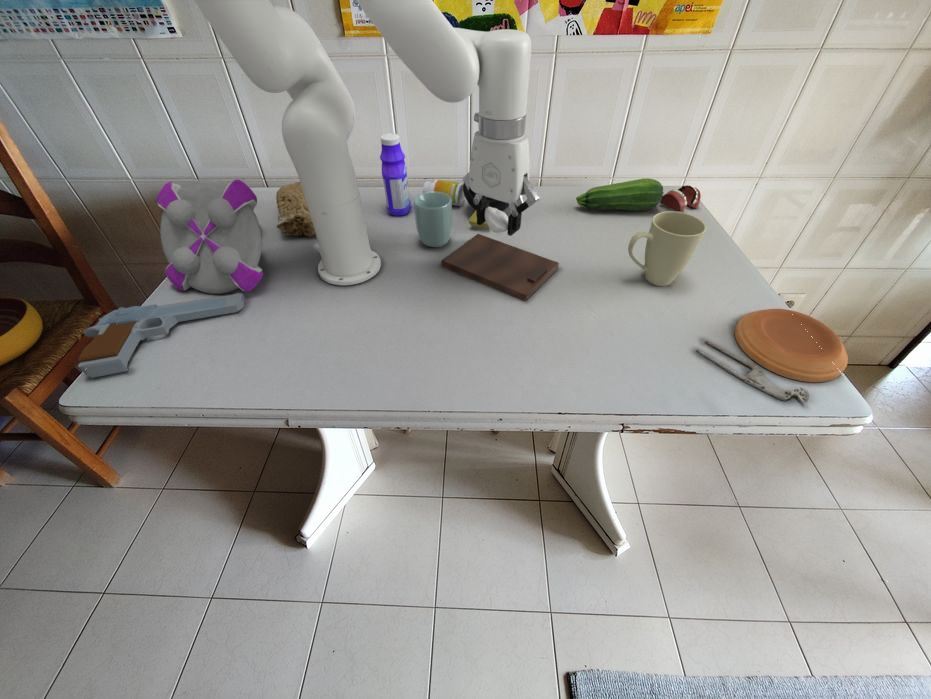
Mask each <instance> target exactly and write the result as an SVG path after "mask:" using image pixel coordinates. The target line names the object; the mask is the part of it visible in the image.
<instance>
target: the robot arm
mask: <svg viewBox="0 0 931 699" xmlns="http://www.w3.org/2000/svg"><path fill="white" fill-rule="evenodd" d="M193 1H194V3H195V4H196V5H197V7H198V9H199V10H200V12H201V14H202V15H203V16H204V18H205V20H206V21H207V22H208V23H209V25H210V26H211V28H212V29H213V31H214V32H215V34H216V35H217V36H218V37H219V39H220V40H221V42H222V43H223V45H224V46H225V48H226V49H227V50H228V52H229V53H230V55H231V56H232V58H233V59H234V60H235V62H236V63H237V65H238V66H239V67H240V69H241V70H242V72H243V73H244V74H245V76H246V77H247V79H249V80H250V82H251V83H252V84H254V85H255V86H256V87H257V88H259V89H260V90H262V91H264V92H267V93H271V94H280V93H283V92H287V94H288V95H289V97H290V98H291V101H290V103H289V104H288V105H287V106H286V109H285V110H284V113H283V116H282V120H281V134H282V136H281V137H282V140H283V144H284V146H285V149H286V151H287V153H288V156H289V157H290V160H291V162H292V164H293V166H294V169H295V171H296V175H297V177H298V180H299V182H300V183H301V186H302V189H303V193H304V196H305V199H306V202H307V205H308V209H309V212H310V215H311V219H312V222H313V226H314V229H315V236H316V241H317V242H316V243H314V244H313V249H314V250H315V251H318V252H319V254H320V257H321V260H320V261H319V262H318V265H317V271H318V274H319V277H320V278H321V280H323V281H324V282H326V283H328V284H330V285H334V286H353V285H358V284H361V283H364V282H366V281H368V280H370V279H373V277H374V276H376V275H377V274H378V273H379V271H380V269H381V266H382V262H381V257H380V256H379V255H378V253H377V252H375V251H374V250H372V249H371V245H370V239H369V234H368V229H367V225H366V219H365V213H364V208H363V204H362V199H361V198H362V197H361V193H360V189H359V183H358V179H357V175H356V172H355V168H354V165H353V162H352V158H351V156H350V152H349V147H348V140H349V138H350V135H351V133H352V132H353V129H354V127H355V124H356V117H357V115H356V114H357V112H356V107H355V103H354V100H353V98H352V95H351V94H350V92H349V90H348V87H347V86H346V84H345V83H344V81H343V79H342V78H341V76H340V74H339V72H338V71H337V69H336V67H335V65H334V64H333V62H332V60H331V59H330V57H329V55H328V53H327V52H326V49H325V48H324V46H323V45H322V43H321V41H320V40H319V38H318V36H317V35H316V32H314V30H313V28H312V27H311V26H310V25H309V23H308V22H307V21H306V20H305V19H304V18H303V17H302V16H301V15H300V14H298V13H297V12H296V11H295V10H293V9H291V8H289V7H286V6H283V5H277V4H276V5H275V4H274V5H273V4H272V2H271V1H270V0H193ZM356 2H357V3H358V5H359V7H360V9H362V11H363V13H364V14H365V16H366V17H367V18H368V19H369V20H370V22H371V23H372V25H373V26H374V27H375V28H376V30H377V31H378V33H379V34H380V35H381V36H382V38H383V40H384V41H385V42H386V43H387V44H388V46H389V47H390V48H391V50H392V51H393V52H394V53H395V55H396V56H397V58H399V59H400V60H401V62H402V63H403V64H404V65H405V66H406V67H407V68H408V69H409V71H410V72H411V73H412V74H413V75H414V76H415V77H416V78H417V79H418V80H419V82H420V83H421V84H423V86H424V87H425V88H426V89H427V90H428V91H429V92H430V93H431V94H432V95H433V96H435V97H436V98H438V99H439V100H441V101H443V102H446V103H451V104H453V103H460V102H463V101H464V100H466V99H468V98H469V97H470V96H471V95H472V94H473V93H474V91H475V89H476V88H477V86H478V112H474V115H473V121H474V122H475V123H478V130H477V131H475V132H474V135H473V139H472V145H471V150H470V159H469V171H468V172H467V173H466V174H465V175H464V176H463V177H462V183H463V184H464V183H465V185H466V186H467V188H469V192H470V194H471V195H472V197H473V198H474V200H473V201H474V203H475V204H476V217H477V224H478V225H481V224H483V223H484V222H486V220H485V209H486V208H487V207H489V200H488V199H486V198H487V197H489V198H493V199H496V200H499V201H503V202H506V203H509V207H508V208H509V210H510V213H509V215H508V216H507V217H508V230H507V233H506V234H507V236H510V237H512V236H513V235H514V234H515V233H517V232H518V231H519V230H521V227H522V215H523V212H524V211H526V210H527V209H529V208H530V207H531V206H533V205H534V204H535V203H537V202H538V201H539V200H540V196H539V194H538V193H537V191H536V189H535V188H534V186H533V184H531V182H530V176H531V175H530V172H531V171H530V170H531V159H530V157H531V156H530V145H529V144H530V143H529V137H528V135H526V124H527V123H526V122H527V107H528V97H529V83H530V70H531V60H532V58H531V57H532V39H531V37H530V35H529V34H528V33H527V32H525V31H524V30H519V29H510V28H509V29H507V28H504V29H501V28H500V29H493V30H490V31H482V30H475V29H467V28H463V27H462V28H461V27H454V26H453V25H452V24H451V23H450V21H449V20H448V19H447V17H446V16H445V15H444V14H443V12H442V11H441V10H440V9H439V6H437V5H436V4H435V2H434V1H433V0H356ZM524 195H525V196H526V200H525V201H524V199H523V196H524Z"/></svg>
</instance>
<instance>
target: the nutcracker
mask: <svg viewBox="0 0 931 699" xmlns="http://www.w3.org/2000/svg"><path fill="white" fill-rule="evenodd" d="M704 343H705V344H707V345H709V347H710V346H711V347H712V348H714V349H715V350H718V351H719V352H721V353H723V354H725V355H726V356H728V357H729V358H732V359H734V360H735V361H737V362H739V363H741V364H742V365H744V366H746V367H748V368H749V370H748V373H747V374H746V375H744V374H741V373H739V372H737V371H735V370H734V369H732V368H730V367H728V366H727V365H725V364H724V363H722V362H720V361H718V360H717V359H715V358H714V357H712V356H710V355H708V354H707V353H705V352H704V351H702V350H700V349H696V350H695V351H696V352H697V353H699V354H700V355H702V356H704V357H705V358H707V359H708V360H709V361H711V362H713V363H714V364H716V365H718V366H719V367H720V368H722V369H724V370H725V371H726V372H728V373H730V374H731V375H733V376H735V377H736V378H738V379H739V380H742V381H743V382H744V383H746V384H748V385H750V386H752V387H755V388H756V389H758V390H760V391H762V392H764V393H766V394H768V395H769V396H772V397H774V398H776V399H778V400H781V401H785V402H787V401H788V400H789V401H790V400H791V399H792V398H793V397H795V398H796V399H797V401H799V402H800V403H802V405H803V406H805V405H806V402H805V400H809V399H810V398H811V396H810V392H809V391H808V390H807V389H806V388H804V387H799V388H795V389H792V390H785V389H782V388H780V387H778V386H776V385H775V384H773V383H772V382H770V381H769V380H768V379H767V378H765V376H764V375H762V369H760V368H759V367H758V366H757V365H755V364H753V363H752V362H749V361H747V360H745V359H743V358H741V357H739V356H737V355H736V354H733V353H731V352H729V351H727V350H725V349H724V348H721V347H719V346H718V345H716V344H714V343H712V342H710V341H708V340H704Z"/></svg>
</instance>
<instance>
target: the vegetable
mask: <svg viewBox="0 0 931 699" xmlns="http://www.w3.org/2000/svg"><path fill="white" fill-rule="evenodd" d="M664 194H665V193H664V186H663V185H662V183H661V182H660V181H659V180H656V179H654V178H639V179H634V180H627V181H620V182H616V183H610V184H606V185H600V186H595V187H592V188H590V189H588V190H587V191H586V192H584V193H582V194H580V195H578V196H575V200H576V203H577V204H578V205H579V206H581V207H582V208H585V209H586V210H588V211H592V212H595V211H603V210H612V211H613V210H616V211H636V212H637V211H647V210H652V209H654V208H657V206H658V205H659V204H661V203H660V201H661V200H662V196H663V195H664Z"/></svg>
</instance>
